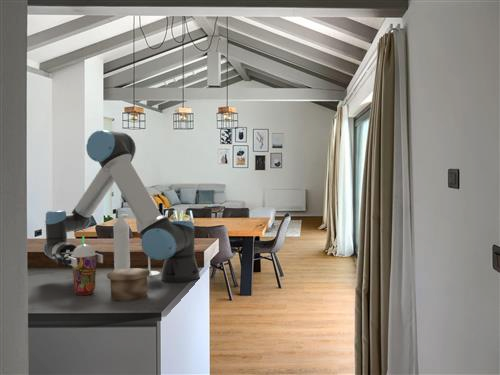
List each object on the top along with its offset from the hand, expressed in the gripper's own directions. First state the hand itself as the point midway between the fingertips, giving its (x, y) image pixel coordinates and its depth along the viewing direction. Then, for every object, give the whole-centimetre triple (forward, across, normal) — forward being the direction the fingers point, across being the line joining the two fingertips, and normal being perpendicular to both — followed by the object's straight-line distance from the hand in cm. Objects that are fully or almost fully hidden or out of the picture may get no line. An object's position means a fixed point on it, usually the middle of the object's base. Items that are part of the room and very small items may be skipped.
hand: (89, 260), depth 154 cm
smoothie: (-5, 0, -12) cm, 13 cm away
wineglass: (-16, -32, -12) cm, 38 cm away
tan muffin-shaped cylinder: (+10, -10, -12) cm, 18 cm away
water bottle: (-25, -24, -12) cm, 37 cm away
